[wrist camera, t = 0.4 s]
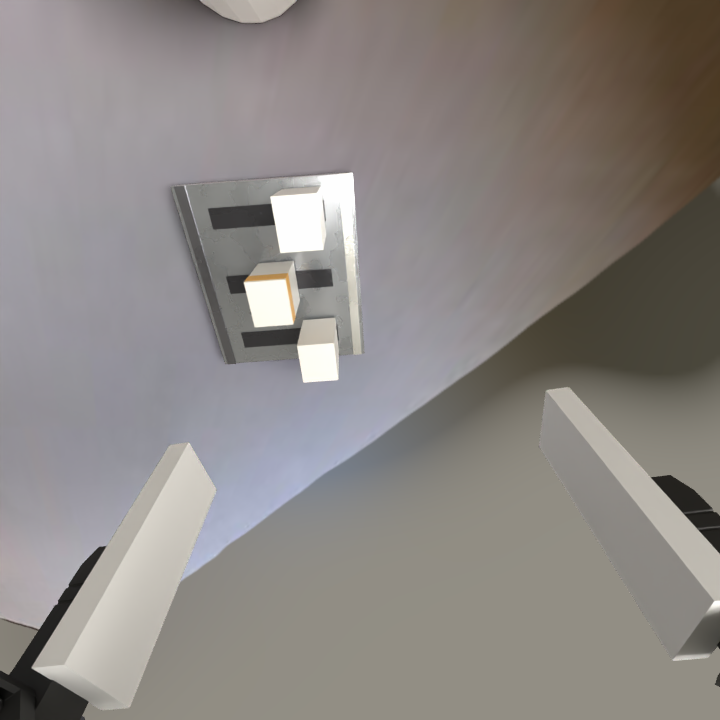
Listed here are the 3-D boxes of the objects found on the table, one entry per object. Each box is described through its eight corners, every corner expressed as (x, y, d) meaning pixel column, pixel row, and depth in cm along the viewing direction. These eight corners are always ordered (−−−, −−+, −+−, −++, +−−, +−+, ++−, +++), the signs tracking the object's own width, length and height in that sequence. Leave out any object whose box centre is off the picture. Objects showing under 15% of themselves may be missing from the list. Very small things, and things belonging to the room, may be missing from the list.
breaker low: (308, 353, 34) (303, 382, 30) (303, 319, 32) (296, 345, 28) (338, 351, 34) (338, 379, 30) (335, 317, 32) (334, 343, 28)
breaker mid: (266, 303, 32) (254, 327, 27) (257, 263, 30) (243, 282, 25) (300, 300, 32) (293, 324, 27) (293, 260, 30) (285, 279, 25)
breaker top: (289, 237, 29) (280, 253, 24) (281, 189, 27) (270, 196, 23) (326, 234, 29) (323, 249, 24) (320, 186, 27) (316, 193, 23)
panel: (230, 353, 37) (224, 364, 35) (180, 184, 28) (169, 186, 27) (363, 343, 37) (364, 354, 35) (352, 171, 29) (352, 173, 27)
